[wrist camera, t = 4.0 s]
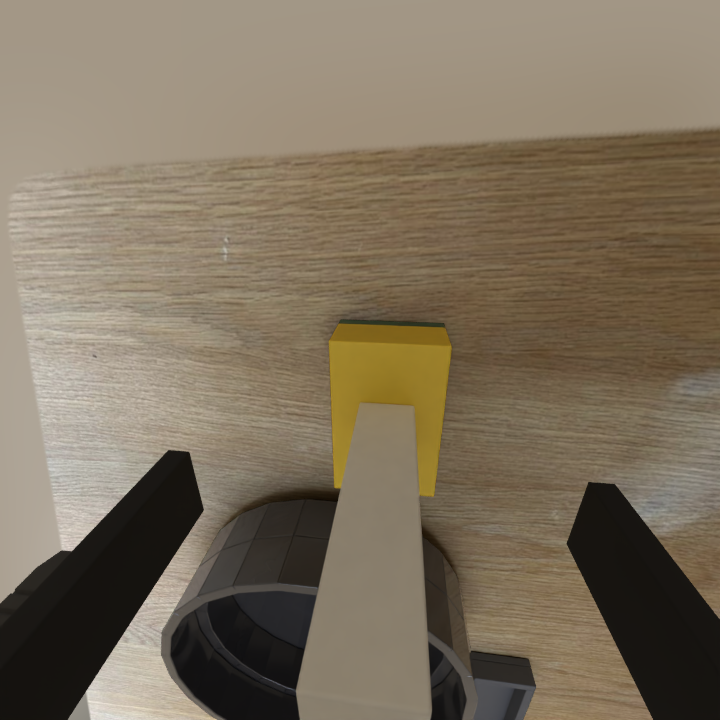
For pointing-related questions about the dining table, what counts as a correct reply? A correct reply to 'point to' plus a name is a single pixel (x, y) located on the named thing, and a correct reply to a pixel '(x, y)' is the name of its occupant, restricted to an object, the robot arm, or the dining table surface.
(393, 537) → the sponge brush
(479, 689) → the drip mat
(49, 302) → the dining table surface
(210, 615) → the bowl
